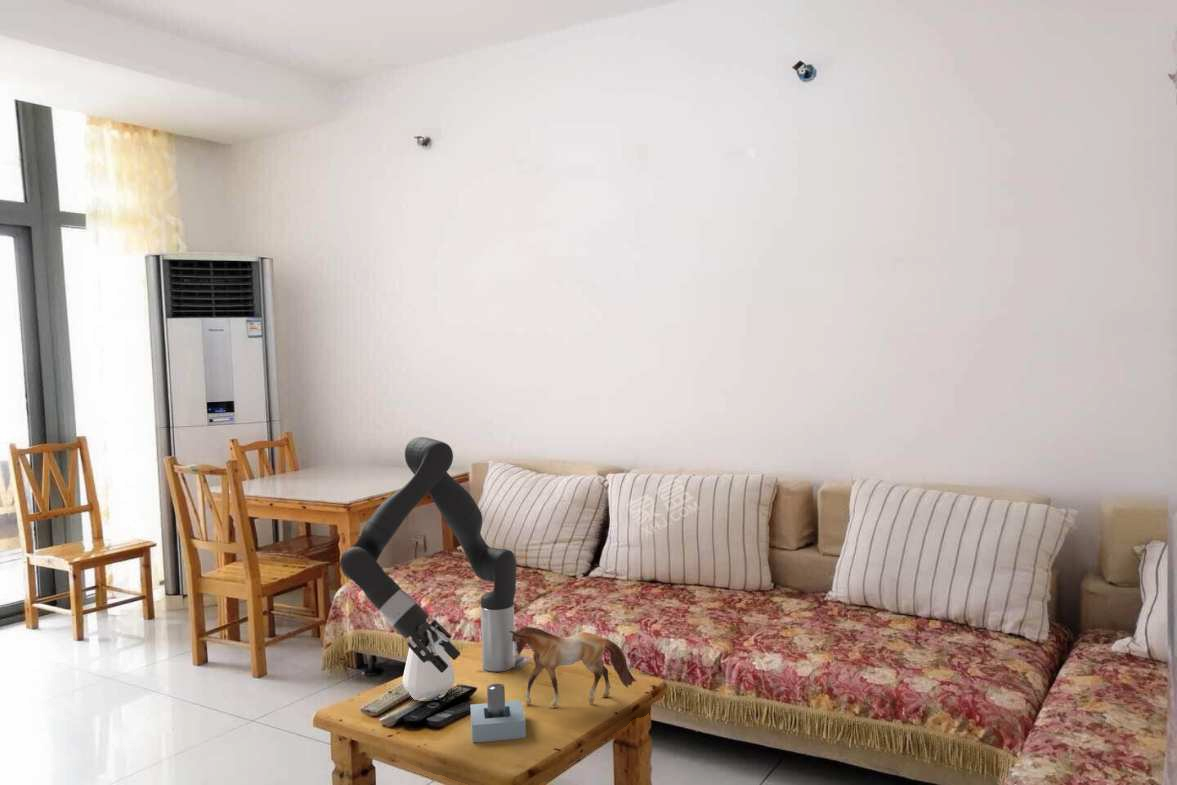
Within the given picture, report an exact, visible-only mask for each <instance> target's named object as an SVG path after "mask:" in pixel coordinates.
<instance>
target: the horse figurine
mask: <svg viewBox="0 0 1177 785" xmlns="http://www.w3.org/2000/svg"><path fill="white" fill-rule="evenodd" d="M514 631H515V630H514ZM514 631H509V632H511V633H513V637H512V642H513V654H512V655H513V657H514V658H515V660H516V659H517V660H518V659H520V658H521V653H522V651H523V650H524V648H526V646H527V644H528V646H529V647H530V649H531V650H532V652H533V655H532V656H533V657H532V658H533V662H534V666H533V669H532V672H531V675H530V676H529V679H528V682H527V688H526V692H525V706H530V705H531V703H532V699H531V697H530V696H531V691H532V690H531V689H532V686H533V683H534V682H535V680H536V678H537V677H538V676H539V675H540V674H541V673H542V671H543V670H544V669H545V671H547V673H548V676H549V678H550V680H551V685H552V687H553V690H554V699H553V700H552V701H551V703H550V705H549V708H550V707H555V706H556V707H557V705H558V704H557V702H558V700H560V694H559V693H560V692H559V690H558V678H557V676H556V668H558V667H562V666H570V665H574V664H576V663H577V662H579V661H582V663H583V665H584V666H585V667H586V669H587V670H588V671H590V673H592V674H593V676H594V682H593V684H592V686H591V688H590V690H589V695H588V703H589V705H591V704H593V703H594V702H595V700H596V698H595V696H594V694H595V693H596V689H597V687H598V684H599V681H600V680H601V678H602V677H603V679H604V682H605V688H604V690H603V693H602V694H601V696H603V697H602V698H607V697H609V696H610V690H611V688H612V686H611V684H610V679H609V670H608V669H607V668H606V666H605V665H604V664H603V662H602V658H603V657H604V654H605V652H606V651H605V650H608V651H609V652H610V661H611V665H612V666H613V669H614V671H615V672H616V673H617V675H618V677H619V679H620V681H621V683H622V684H623V685H624V686H625V687H626V688H629V686H632V685H633V683H634V682H637V679H635V678H634V676H633V675H632V673H631V672H630V669H629V668H628V664H627V659H626V656H625V654H624V652H623V651H622V649H621V648H620V646H618V644H616V643H615V642H613V641H612V640H610V639H607V638H605V637H602V636H599V635H597V634H595V633H591V632H587V631H584V632H583V631H582V632H578V633H576V634H574V635H571V636H570V635H569V636H565V637H559V636H556V635H555V634H552V633H550V632H548V631H545V630H542V629H540V628H538V627H531V626H525V627H522V628H519V629H518V630H516V631H515V632H514Z"/></svg>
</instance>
